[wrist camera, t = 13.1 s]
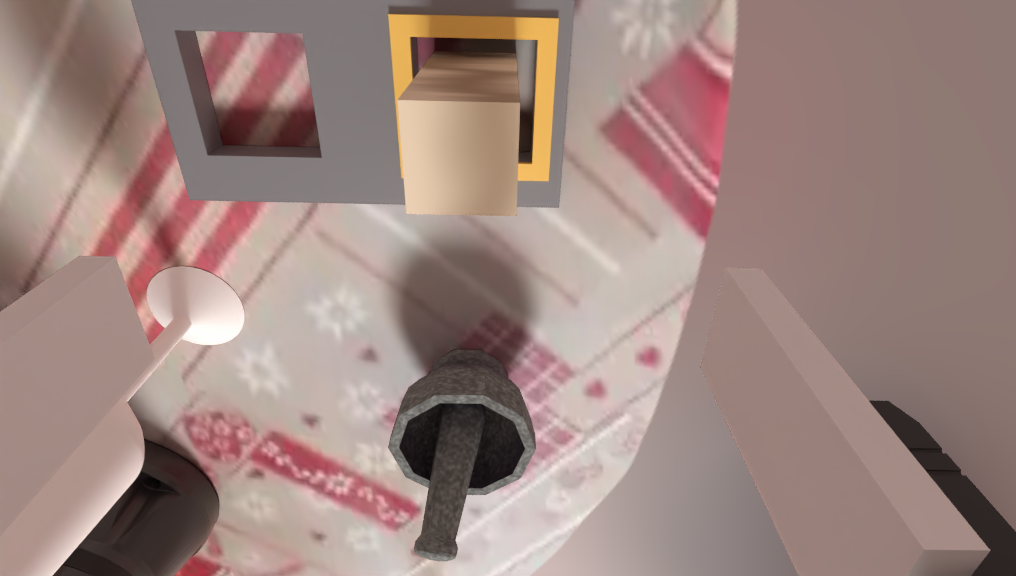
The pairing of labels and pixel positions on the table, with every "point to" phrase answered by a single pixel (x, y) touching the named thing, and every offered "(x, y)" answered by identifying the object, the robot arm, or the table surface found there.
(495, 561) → the table surface
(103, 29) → the table surface
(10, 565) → the champagne flute
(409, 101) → the wooden peg
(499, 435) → the mortar and pestle
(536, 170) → the peg board
